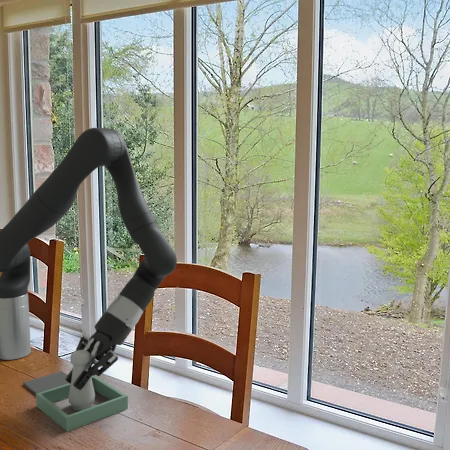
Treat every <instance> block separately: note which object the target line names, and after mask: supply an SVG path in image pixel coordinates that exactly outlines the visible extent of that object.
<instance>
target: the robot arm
mask: <svg viewBox="0 0 450 450" xmlns="http://www.w3.org/2000/svg"><path fill="white" fill-rule="evenodd" d="M99 167H105V168H106V170H107V171H108V173H109V175H110V176H111V178H112V181H113V182H114V185H115V189H116V194H117V203H118V210H119V211H118V212H119V214H120V217H121V220H122V222H123V224H124V225H125V226H124V227H125V228H126V230H127V232H128V235H129V237H130V238H131V239H132V241H133V242H134V244H136V245H138V246H139V249H140V250H141V253H142V254H143V256H144V258H143V260H142V261H141V262H140V264H138V265H139V266H138V267H137V268H136V270H135V272H134V273H133V276H132V277H131V278H130V279H129V280H128V282H127V283H126V284H125V286H123V288H122V289H121V291H120V292H119V293H118V294H117V296H116V297H115V298H114V300H112V302H111V303H110V304H109V306H108V307H107V308H106V310H104V312H103V314H102V315H101V316H100V318H99V319H98V321H97V322H96V323H95V325H94V330H95V332H94V333H93V334H92V335H91V336H90V337H89V338H86V337H84V336H81V338H80V339H79V342H78V344H77V346H76V349H75V351H78V350H86V351H88V352H89V353H90V358H89V363H87V365H86V367H85V369H84V371H83V372H82V373H81V374H80V375H79V376H78V378H77V379H76V381H75V382H74V384H73V386H74V387H76V388H77V389H79V390H81V389H82V388H83V387H84V386H85V385H86V383H87V382H88V380H89V379H90V378H91V376H94V375H95V376H96V377H100V376H101V375H103V374H104V372H106V371H107V370H108V369H109V368H110V367H111V366H113V365H114V364H115V363H116V362H117V361H118V360H119V357H118V355H116V353H115V350H116V347H117V346H122V345H123V344H124V342H125V341H126V339H127V338H128V337H129V335H130V334H131V332H132V331H133V329H134V328H135V326H136V325H137V323H139V320H140V319H141V317H142V315H143V313H144V311H145V310H146V309H147V307H148V305H149V304H150V303H151V301H152V300H153V299H154V296H155V291H157V289H158V287H159V286H160V285H161V284H162V283H163V281H164V279H165V278H166V277H167V276H169V275H170V274H172V273H173V272H174V271H175V270H176V267H177V264H178V260H177V255H176V253H175V251H174V248H173V246H172V245H171V243H170V242H169V241H168V239H167V238H166V237H165V235H164V234H163V232H162V231H161V230H160V228H159V226H158V224H157V221H156V219H155V217H154V215H153V213H152V211H151V209H150V207H149V205H148V203H147V201H146V199H145V196H144V194H143V192H142V189H141V185H140V184H139V180H138V178H137V175H136V172H135V171H136V170H135V168H134V166H133V163H132V159H131V156H130V152H129V149H128V146H127V143H126V141H125V139H124V136H123V135H122V134H121V133H120V132H119V131H117V130H116V129H114V128H109V127H105V128H104V127H90V128H87V129H86V130H84V131H83V132H82V133H81V134H80V135H79V136H78V138H77V139H76V140H75V142H74V143H73V144H72V146H71V147H70V149H69V150H68V152H67V153H66V155H65V156H64V158H63V159H62V161H61V162H60V163H59V164H58V166H57V167H55V169H54V170H53V171H52V172H51V173H50V174H49V175H48V177H47V178H46V179H45V180H44V181H43V182H42V183H41V184H40V186H38V187H37V189H36V190H35V191H34V192H33V193H32V195H31V196H30V197H29V198H28V200H27V201H26V202H25V203H24V204H23V206H22V207H20V208H19V210H18V211H17V212H16V214H15V215H14V216H13V217H12V218H11V219H10V221H9V222H7V224H6V225H5V226H4V227H2V228H1V229H0V273H1V274H0V360H2V361H3V360H7V361H9V360H17V359H22V358H25V357H27V356H28V355H29V354H31V352H32V349H31V328H30V327H31V325H30V323H31V322H30V307H29V304H30V303H29V291H28V289H29V285H30V282H31V251H30V247H29V246H30V245H29V244H28V243H30V242H31V241H32V240H34V239H35V238H37V237H38V236H40V235H42V234H44V233H45V232H46V231H48V230H49V229H51V228H52V227H54V226H55V225H56V224H57V223H58V222H59V221H60V220H61V219H62V218H63V217H65V215H66V214H67V213H68V212H69V210H71V208H72V207H73V205H74V202H75V200H76V198H77V194H78V190H79V188H80V186H81V185H82V183H83V182H84V180H85V179H86V178H88V176H90V174H92V173H93V172H94V171H95V170H96V169H99ZM72 371H73V367H72V369H71V370H70V371H69V372H68V374H67V377H66V379H65V380H66V381H67V382H68V383H70V384H71V378H72Z"/></svg>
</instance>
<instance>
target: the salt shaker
mask: <svg viewBox="0 0 450 450" xmlns="http://www.w3.org/2000/svg"><path fill="white" fill-rule="evenodd" d="M89 358H90V353H89V352H88V351H86V350H78V351H76V350H75V351H73V352H71V353H70V359H69V360H70V363H71V364H72V365H73V366H72V368H73V371H72V378H71V385H70V391H69V398H67V399H68V403H69V405H70V406H71V408H72V410H73V411H74V412H79V411H82V410H84V409H87V408H90V407H93V404H94V402H95V398H96V392H95V390H94V388H93V383H92V379H91V378H90V379H89V380H88V382H87V383H86V385H85V386H84V387H83V388H82V389H81V390H79V389H77V388H76V387H74V386H73V384H74V382H75V381H76V379H77V378H78V376H79V375H80V374H81V373H82V372H83V371H84V369H85V367H86V365H87V363H89Z"/></svg>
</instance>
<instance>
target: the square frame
mask: <svg viewBox="0 0 450 450" xmlns="http://www.w3.org/2000/svg"><path fill="white" fill-rule="evenodd" d="M91 379H92V383H93V388H94V391H96V392H97V393H99V394H100V395H101V396H103V397H105V398H106V399H108V400H106V401H105V402H101V403H99V404H96V405H92V406H91V407H90V408H87V409H84V410H82V411H79V412H78V411H75V412H74V413H70V414H68V413H66V412H65V411H64V410H62V409H61V408H60V407H58V406H57V405H56V404H55V403H56V402H60V401H62V400H66V399H68V398H69V391H70V385H71V384H70V383H69V384H65V385H62V386H59V387H56V388H53V389H50V390H46V391H43V392H40V393H37V394H36V395H35V399H36V401H35V402H36V403H35V404H36V407H37V408H38V409H39V410H41V411H42V412H43V413H44V414H45V415H46V416H48V418H50V419H51V420H52V421H54V423H56V424H57V425H59V427H61V428H62V429H63V430H64V431H66V432H69V431H73V430H76V429H77V428H80V427H84V426H87V425H88V424H92V423H94V422H96V421H99V420H102V419H104V418H107V417H109V416H112V415H115V414H118V413H121V412H123V411H126V410H128V409H129V397H128V395H127V394H126V393H124V392H122V391H121V390H119V389H117V388H116V387H114V386H112V385H111V384H109V383H108V382H106V381H104V380H103V379H101V378H100V377H99V376H97V375H94V376H91Z"/></svg>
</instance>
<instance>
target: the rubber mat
mask: <svg viewBox="0 0 450 450" xmlns="http://www.w3.org/2000/svg"><path fill="white" fill-rule="evenodd" d="M67 375H68V374H67V373H65V372H64V371H62V370H61V371H57V372H54V373H51V374H48V375H45V376H44V375H43V376H40V377H37V378H34V379H31V380H30V379H29V380H27V381H24V382H23V383H22V384H23V386H24V387H25V388H27V389H28V390H29V391H30V392H32V393H33V394H34V395H35V396H36V394H37V393H40V392H43V391H46V390H50V389H53V388H56V387H59V386H62V385H65V384H69V383H68V382H67V381H66V380H65V379H66V377H67Z"/></svg>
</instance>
